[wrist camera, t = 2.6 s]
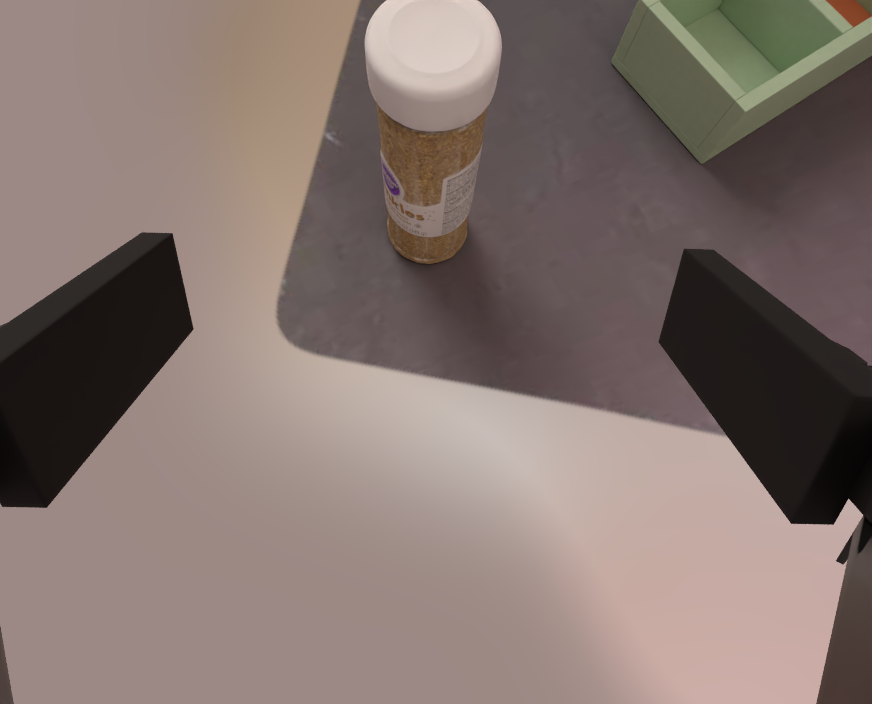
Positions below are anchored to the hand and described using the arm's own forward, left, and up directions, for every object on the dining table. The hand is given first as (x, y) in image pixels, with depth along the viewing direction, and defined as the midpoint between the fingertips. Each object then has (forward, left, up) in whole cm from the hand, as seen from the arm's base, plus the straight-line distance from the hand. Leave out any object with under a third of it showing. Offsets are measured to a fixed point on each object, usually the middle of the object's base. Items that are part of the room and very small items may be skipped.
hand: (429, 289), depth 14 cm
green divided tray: (-6, +29, -14) cm, 33 cm away
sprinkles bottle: (-7, +5, -14) cm, 17 cm away
